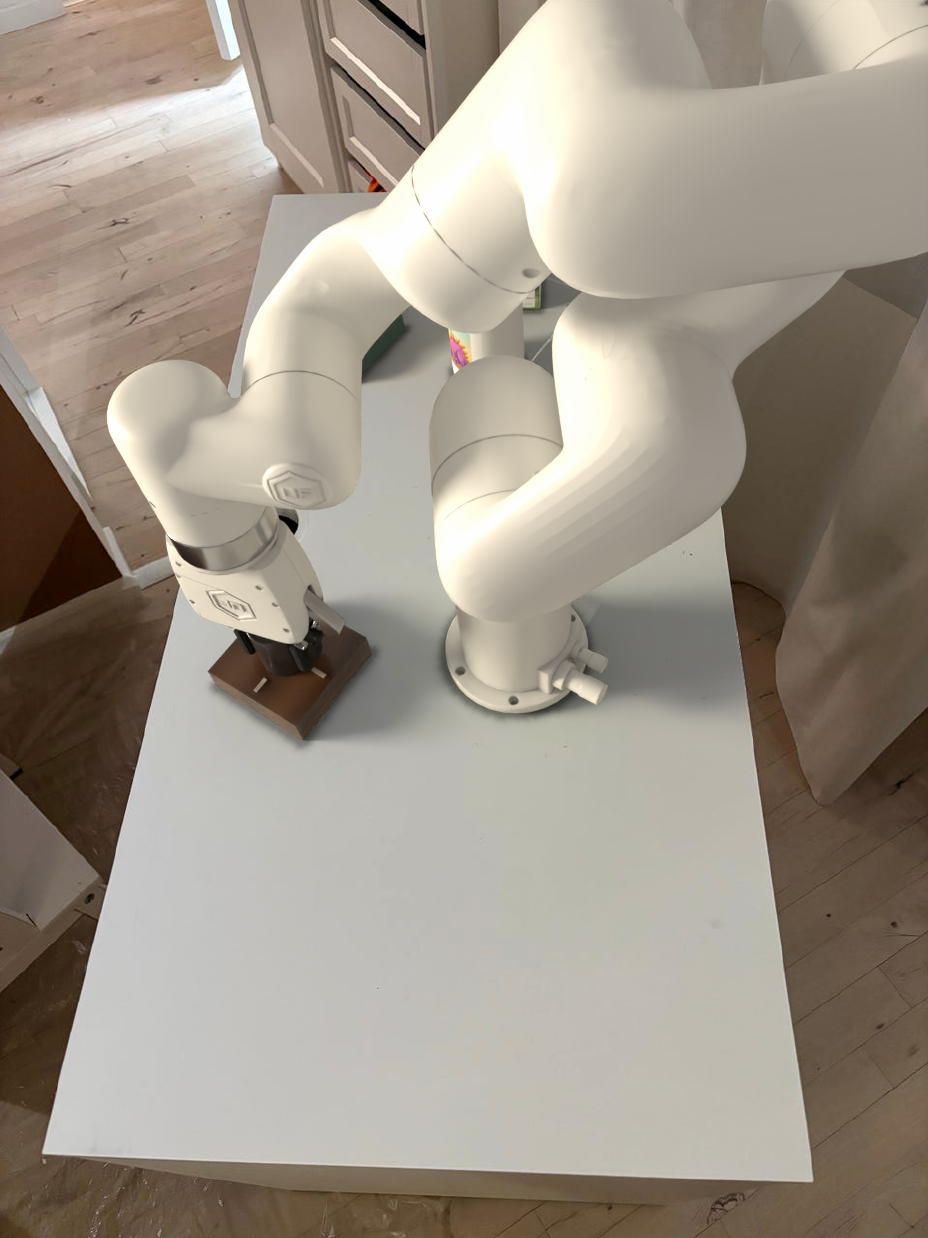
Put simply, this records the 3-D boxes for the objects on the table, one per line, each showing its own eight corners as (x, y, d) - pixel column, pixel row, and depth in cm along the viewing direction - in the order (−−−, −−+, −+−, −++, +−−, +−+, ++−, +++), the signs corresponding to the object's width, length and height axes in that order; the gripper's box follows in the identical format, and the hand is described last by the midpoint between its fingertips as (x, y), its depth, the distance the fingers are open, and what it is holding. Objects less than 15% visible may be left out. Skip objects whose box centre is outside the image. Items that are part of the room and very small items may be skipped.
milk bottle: (527, 347, 105) (522, 181, 88) (522, 398, 101) (516, 235, 84) (457, 346, 106) (439, 182, 89) (450, 397, 102) (429, 235, 85)
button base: (405, 329, 108) (400, 301, 104) (352, 385, 104) (345, 357, 100) (336, 301, 111) (329, 272, 108) (282, 354, 107) (273, 326, 104)
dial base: (372, 654, 86) (366, 636, 83) (303, 741, 82) (295, 725, 79) (287, 606, 89) (279, 587, 86) (217, 687, 85) (206, 670, 83)
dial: (320, 640, 83) (305, 605, 78) (297, 682, 81) (281, 649, 76) (276, 626, 84) (259, 590, 80) (253, 667, 82) (234, 633, 78)
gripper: (92, 531, 67) (179, 658, 82) (305, 593, 63) (354, 714, 78) (147, 454, 70) (220, 589, 86) (352, 507, 66) (390, 639, 82)
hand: (283, 647), depth 82 cm, fingers closed on dial, 4 cm apart
